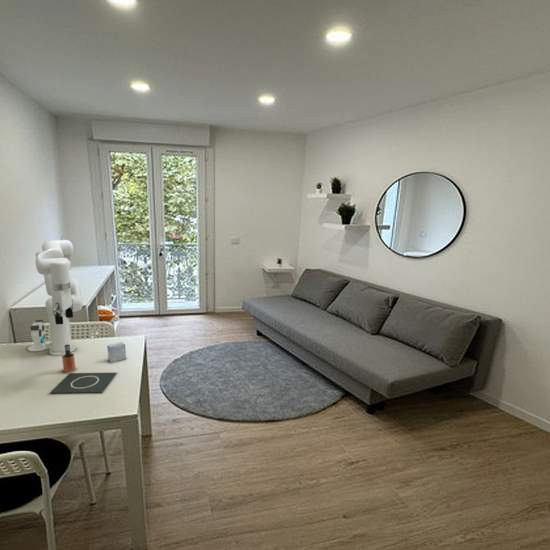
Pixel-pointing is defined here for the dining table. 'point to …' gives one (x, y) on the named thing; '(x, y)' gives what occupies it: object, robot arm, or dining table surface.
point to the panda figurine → (38, 336)
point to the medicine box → (116, 352)
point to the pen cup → (68, 363)
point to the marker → (67, 351)
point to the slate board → (83, 383)
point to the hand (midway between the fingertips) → (64, 320)
